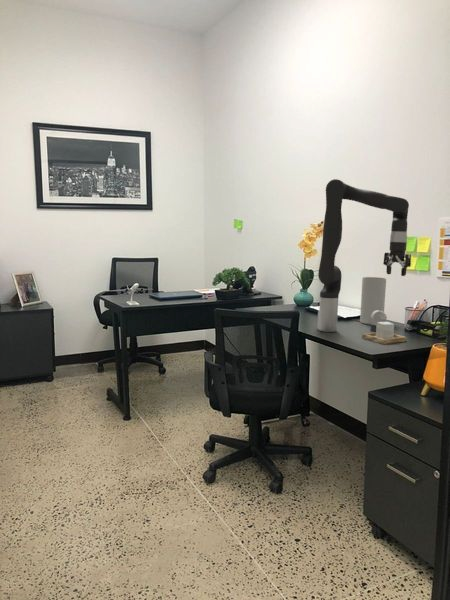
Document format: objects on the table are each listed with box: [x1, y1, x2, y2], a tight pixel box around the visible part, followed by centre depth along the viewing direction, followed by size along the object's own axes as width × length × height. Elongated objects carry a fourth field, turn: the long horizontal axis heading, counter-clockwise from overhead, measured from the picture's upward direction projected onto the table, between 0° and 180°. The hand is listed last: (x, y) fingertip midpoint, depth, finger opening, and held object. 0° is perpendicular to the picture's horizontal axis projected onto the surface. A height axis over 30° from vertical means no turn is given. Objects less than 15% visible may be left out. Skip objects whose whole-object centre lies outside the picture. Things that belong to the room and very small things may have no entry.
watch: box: [370, 310, 388, 333], centre depth 245 cm, size 6×8×11 cm
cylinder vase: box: [359, 276, 387, 326], centre depth 267 cm, size 12×12×25 cm
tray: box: [361, 332, 407, 345], centre depth 228 cm, size 14×14×2 cm
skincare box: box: [376, 321, 395, 339], centre depth 227 cm, size 6×6×7 cm
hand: (395, 274), depth 232 cm, fingers open, 8 cm apart
